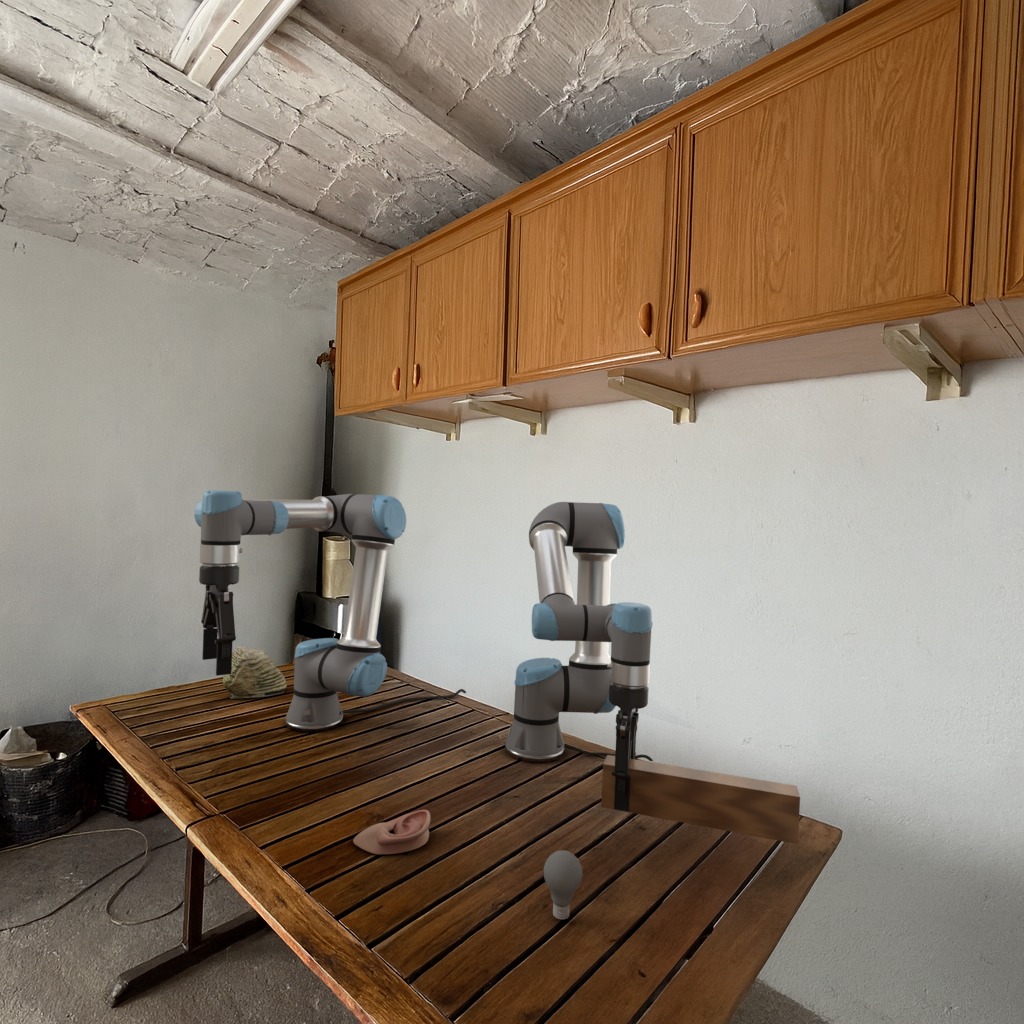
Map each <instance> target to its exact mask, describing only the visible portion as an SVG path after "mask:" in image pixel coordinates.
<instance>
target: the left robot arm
mask: <svg viewBox="0 0 1024 1024" xmlns="http://www.w3.org/2000/svg"><path fill="white" fill-rule="evenodd" d="M193 516H194V520H195V523H196V524H197V526H198V527H200V543H199V563H200V564H202V565H201V566H199V574H198V575H199V576H198V577H199V578H198V582H199V584H201V585H204V586H205V593H204V594H205V595H204V596H205V597H204V602H203V609H202V613H201V614H202V615H201V620H200V622H201V624H202V627H203V631H202V660H203V661H206V660H207V661H208V660H215V661H216V662H215V663H216V665H215V676H217V677H218V676H223V675H227V674H231V668H232V653H233V643H234V642H235V641H236V640H237V636H236V626H235V625H236V624H235V612H234V592H233V591H229V586H231V585H236V584H239V581H240V566H239V565H237V564H239V563H240V554H241V553H243V551H244V550H243V548H240V547H241V537H242V536H259V535H260V536H263V535H264V536H266V535H268V536H272V535H278V534H281V533H283V532H284V531H285V530H289V529H291V530H292V529H313V530H315V531H317V532H333V533H339V534H342V535H343V534H344V535H351V543H352V544H353V546H355V553H354V559H353V560H354V561H353V567H352V575H351V582H350V590H349V595H348V603H347V610H346V616H345V624H344V630H343V635H342V637H341V638H339V639H338V638H335V637H324V638H323V637H322V638H313V639H308V640H304V641H302V642H299V643H298V644H297V645H296V647H295V652H294V653H295V654H294V657H293V658H294V660H293V662H294V663H293V665H294V666H293V695H292V696H293V697H292V699H291V702H290V704H289V708H288V711H287V713H286V715H285V726H286V728H287V729H289V730H291V731H294V732H295V731H296V732H301V733H316V732H325V731H329V730H332V729H335V728H337V727H339V726H340V725H342V723H343V722H344V714H353V713H367V712H372V711H376V710H379V709H382V708H386V707H389V706H392V705H396V704H400V703H404V702H411V701H421V700H422V701H424V700H425V701H427V700H441V699H442V700H443V699H451V698H455V697H457V696H458V695H459V694H460V693H463V694H467V691H466V690H465V689H463V688H460V689H458V690H457V691H455V693H452V694H447V695H431V696H416V697H406V698H400V699H396V700H393V701H389V702H385V703H382V704H379V705H376V706H373V707H369V708H358V709H357V708H355V709H344V710H343V709H342V706H341V702H340V699H339V695H338V693H342V694H346V695H349V696H351V697H361V698H364V697H365V698H367V697H370V696H372V695H373V694H374V693H376V692H377V691H378V689H379V688H380V687H382V684H383V683H384V680H385V678H386V675H387V671H388V663H387V661H386V657H385V656H384V655H383V654H382V653H381V646H382V645H381V644H380V643H379V641H378V640H377V634H378V626H379V619H380V612H381V604H382V597H383V588H384V582H385V577H386V576H385V574H386V567H387V560H388V553H389V551H390V550H391V549H392V548H394V547H395V542H396V540H397V539H399V538H401V537H402V535H403V533H404V532H405V531H406V527H407V514H406V510H405V508H404V506H403V504H402V502H401V501H400V499H398V498H397V497H395V496H392V495H385V494H370V493H369V494H368V493H367V494H364V493H344V494H338V495H327V496H321V495H320V496H319V495H318V496H315V497H313V499H276V498H275V499H274V498H273V499H271V498H265V499H264V498H243V493H242V492H240V491H238V490H237V491H236V490H215V489H213V490H212V489H211V490H210V489H209V490H206V491H205V492H203V495H202V499H201V500H200V501H199V502H198V503H197V504H196V506H195V509H194V515H193Z"/></svg>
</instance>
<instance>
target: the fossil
mask: <svg viewBox="0 0 1024 1024" xmlns="http://www.w3.org/2000/svg"><path fill="white" fill-rule="evenodd" d="M222 676H223V677H222V685H223V687H224V688H225V690H226V691H228V693H229V698H230V699H250V698H264V697H271V696H275V695H281V694H284V693H285V691H286V689H287V687H288V686H287V680H286V678H285V676H284V674H283V673H282V672H281V669H279V668H278V667H277V665H276V663H275V662H274V660H273V659H272V658H271V657H270V656H269V655H268V654H267V653H266V652H265V650H264V649H263V648H260V647H258V648H251V647H247V646H246V647H245V646H238V647H237V648H236V649H235V650H233V651H232V668H231V674H227V675H222Z"/></svg>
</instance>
